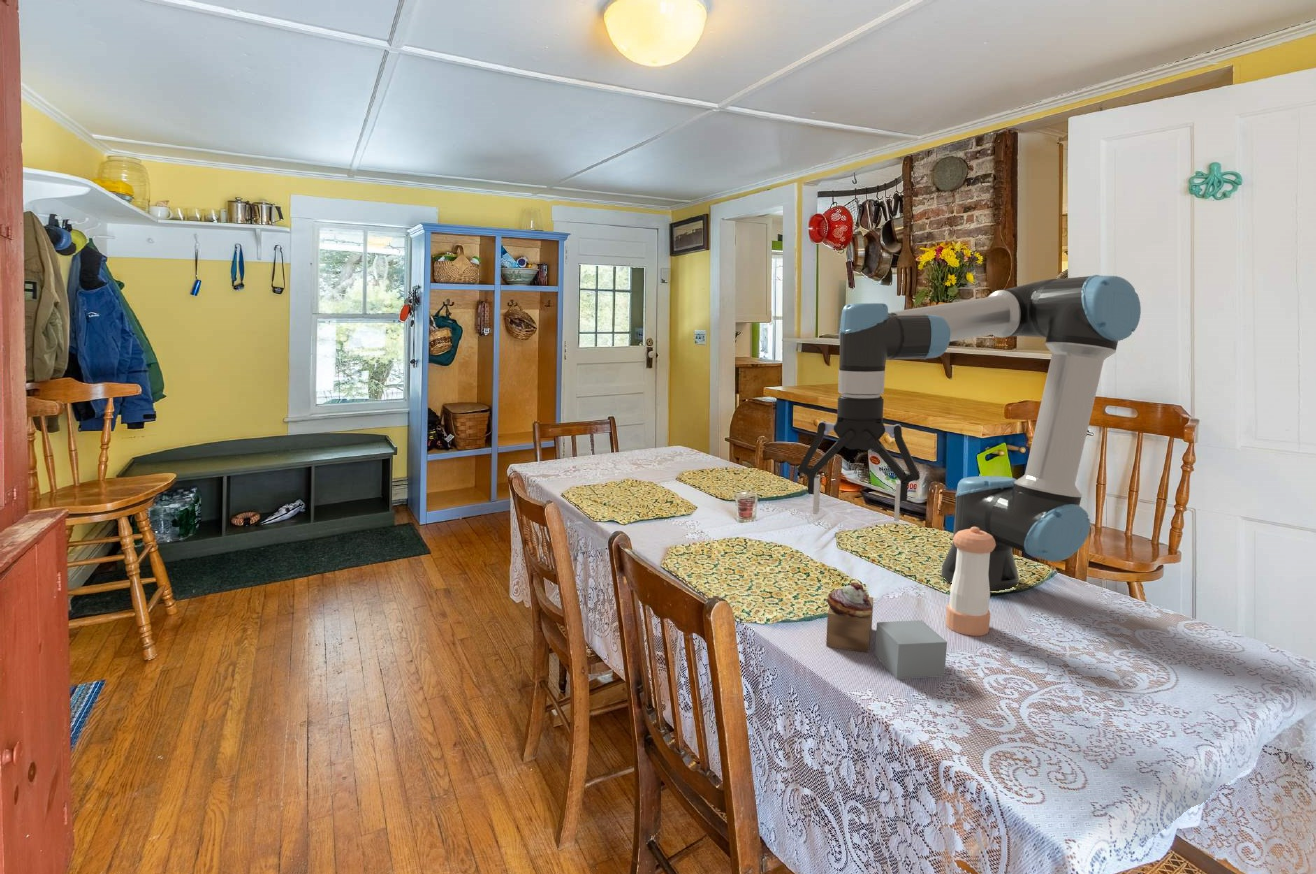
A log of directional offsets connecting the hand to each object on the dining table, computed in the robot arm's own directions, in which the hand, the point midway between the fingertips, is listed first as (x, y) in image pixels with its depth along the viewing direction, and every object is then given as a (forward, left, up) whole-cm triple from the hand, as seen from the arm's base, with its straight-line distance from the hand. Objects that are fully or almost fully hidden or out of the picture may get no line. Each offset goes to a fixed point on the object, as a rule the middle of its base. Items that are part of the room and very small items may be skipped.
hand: (855, 515), depth 120 cm
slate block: (-10, +9, -22) cm, 26 cm away
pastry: (0, +4, -16) cm, 17 cm away
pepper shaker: (-20, -10, -22) cm, 32 cm away
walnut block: (0, +2, -22) cm, 22 cm away
